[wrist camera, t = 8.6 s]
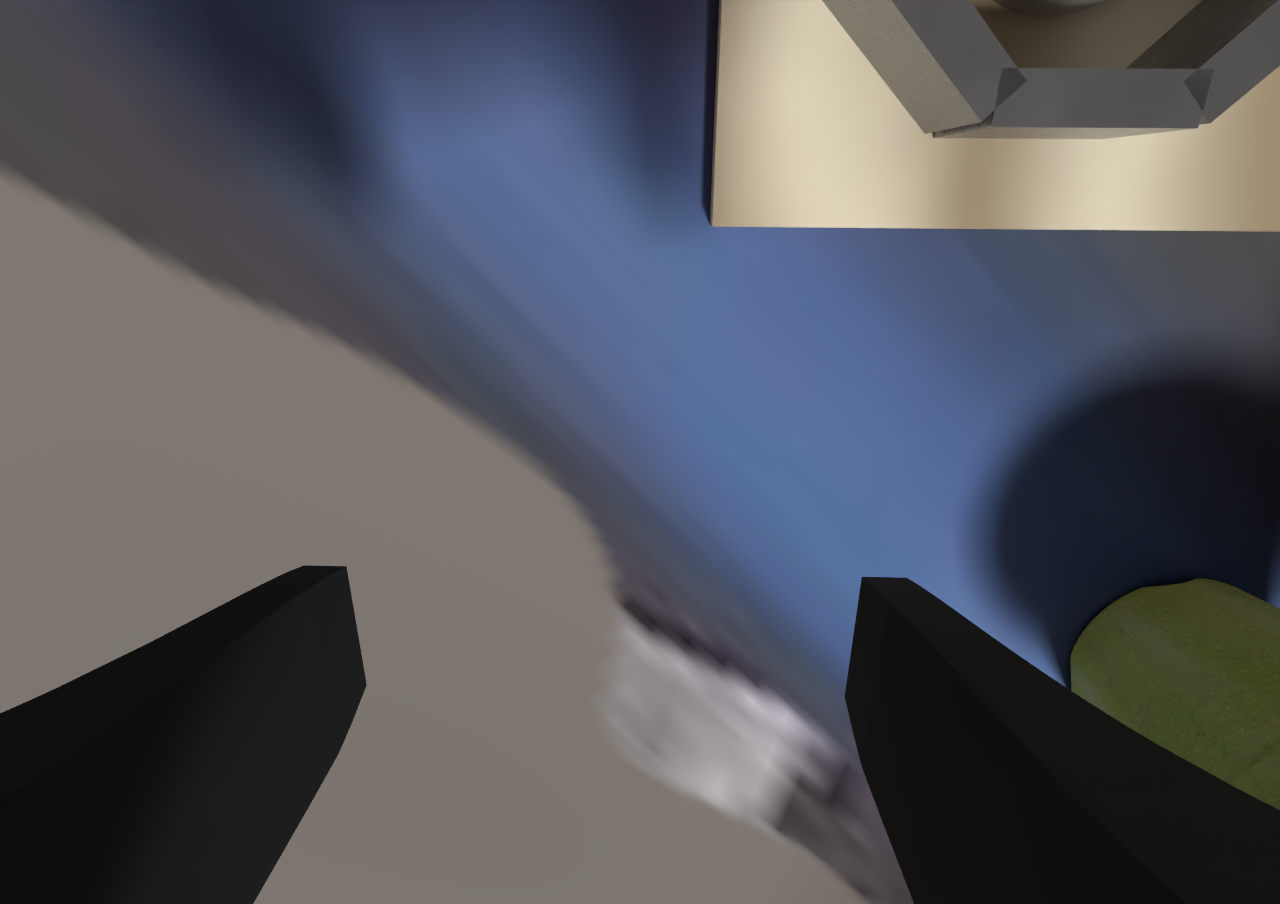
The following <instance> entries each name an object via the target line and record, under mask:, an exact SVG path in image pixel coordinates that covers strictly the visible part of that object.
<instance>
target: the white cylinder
mask: <svg viewBox="0 0 1280 904" xmlns="http://www.w3.org/2000/svg"><path fill="white" fill-rule="evenodd" d="M992 1H994V2H995V3H997V4H998V5H1000V6H1001V7H1004V8H1006V9H1008V10H1011V11H1013V12H1016V13H1019V14H1023V15H1027V16H1036V17H1054V16H1062V15H1067V14H1072V13H1076V12H1079V11H1081V10H1084V9H1087V8H1090V7H1092V6H1095V5H1097V4H1100V3H1102V2H1104V1H1107V0H992Z"/></svg>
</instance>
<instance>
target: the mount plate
mask: <svg viewBox="0 0 1280 904" xmlns="http://www.w3.org/2000/svg"><path fill="white" fill-rule="evenodd" d="M970 1H971V3H972V4H973V5H974V7H975V8H976V10H977V11H978V12H979V14H980V15H981V17H982V18H983V20H984V21H985V22H986V24H987V25H988V27H989V28H990V29H991V31H992V32H993V34H994V35H995V37H996V38H997V39H998V41H999V42H1000V44H1001V45H1002V46H1003V48H1004V49H1005V51H1006V52H1007V54H1008V55H1009V56H1010V58H1011V59H1012V61H1013V62H1014V63H1015V65H1016V66H1017V68H1122V69H1125V68H1127V67H1128V66H1129V65H1130V64H1131V63H1132V62H1133V61H1135V60H1136V59H1137V58H1138V57H1139V56H1140V55H1141V54H1142V53H1144V52H1145V51H1146V50H1147V49H1148V48H1149V47H1150V46H1151V45H1153V44H1154V43H1155V42H1156V41H1157V40H1158V39H1159V38H1161V37H1162V36H1163V35H1164V34H1165V33H1166V32H1167V31H1168V30H1170V29H1171V28H1172V27H1173V26H1174V25H1175V24H1176V23H1177V22H1179V21H1180V20H1181V19H1182V18H1183V17H1184V16H1185V15H1187V14H1188V13H1189V12H1190V11H1191V10H1192V9H1193V8H1194V7H1196V6H1197V5H1198V4H1199V3H1200V2H1201V1H1202V0H1107V1H1104V2H1102V3H1100V4H1097V5H1095V6H1092V7H1090V8H1087V9H1084V10H1081V11H1079V12H1076V13H1072V14H1067V15H1062V16H1054V17H1036V16H1027V15H1023V14H1019V13H1016V12H1013V11H1011V10H1008V9H1006V8H1004V7H1001V6H1000V5H998V4H997V3H995V2H994V1H992V0H970ZM933 134H934V132H932V133H927V134H924V132H923V131H922V130H921V129H920V127H919V126H918V125H917V123H916V122H915V121H914V119H913V118H912V117H911V116H910V114H909V113H908V112H907V110H906V109H905V108H904V106H903V105H902V104H901V103H900V101H899V100H898V99H897V97H896V96H895V95H894V93H893V92H892V91H891V90H890V88H889V87H888V86H887V84H886V83H885V82H884V80H883V79H882V78H881V77H880V75H879V74H878V73H877V71H876V70H875V69H874V67H873V66H872V65H871V64H870V62H869V61H868V60H867V58H866V57H865V56H864V54H863V53H862V52H861V51H860V49H859V48H858V47H857V45H856V44H855V43H854V41H853V40H852V39H851V38H850V36H849V35H848V34H847V32H846V31H845V30H844V28H843V27H842V26H841V25H840V23H839V22H838V21H837V19H836V18H835V17H834V15H833V14H832V13H831V12H830V10H829V9H828V8H827V6H826V5H825V4H824V2H823V1H822V0H719V19H718V43H717V67H716V91H715V115H714V139H713V163H712V187H711V210H710V225H711V226H714V227H828V228H943V229H1057V230H1171V231H1280V66H1279V67H1278V68H1276V69H1275V70H1274V71H1273V72H1272V73H1270V74H1269V75H1268V76H1267V77H1266V78H1264V79H1263V80H1262V81H1261V82H1260V83H1258V84H1257V85H1256V86H1255V87H1254V88H1252V89H1251V90H1250V91H1249V92H1248V93H1246V94H1245V95H1244V96H1243V97H1242V98H1240V99H1239V100H1238V101H1237V102H1235V103H1234V104H1233V105H1232V106H1231V107H1229V108H1228V109H1227V110H1226V111H1225V112H1223V113H1222V114H1221V115H1220V116H1219V117H1217V118H1216V119H1215V120H1214V121H1213V122H1211V123H1209V124H1200V125H1199V127H1198V128H1197V129H1188V130H1179V131H1170V132H1161V133H1152V134H1144V135H1135V136H1126V137H1117V138H1108V139H991V138H933Z"/></svg>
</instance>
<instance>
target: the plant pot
mask: <svg viewBox="0 0 1280 904" xmlns="http://www.w3.org/2000/svg"><path fill="white" fill-rule="evenodd" d="M1070 663H1071V691H1072V692H1073V693H1075V694H1077V695H1078V696H1080V697H1081V698H1083V699H1085V700H1086V701H1088V702H1089V703H1091V704H1092V705H1094V706H1096V707H1097V708H1099V709H1100V710H1102V711H1104V712H1105V713H1107V714H1108V715H1110V716H1111V717H1113V718H1115V719H1116V720H1118V721H1119V722H1121V723H1123V724H1124V725H1126V726H1128V727H1129V728H1131V729H1133V730H1134V731H1136V732H1138V733H1139V734H1141V735H1143V736H1144V737H1146V738H1148V739H1150V740H1151V741H1153V742H1155V743H1156V744H1158V745H1160V746H1161V747H1163V748H1165V749H1167V750H1169V751H1171V752H1172V753H1174V754H1176V755H1178V756H1180V757H1181V758H1183V759H1185V760H1187V761H1189V762H1190V763H1192V764H1194V765H1196V766H1198V767H1199V768H1201V769H1203V770H1205V771H1207V772H1208V773H1210V774H1212V775H1214V776H1216V777H1218V778H1219V779H1221V780H1223V781H1225V782H1227V783H1228V784H1230V785H1232V786H1234V787H1236V788H1238V789H1240V790H1241V791H1243V792H1245V793H1247V794H1249V795H1251V796H1253V797H1255V798H1257V799H1259V800H1261V801H1263V802H1265V803H1267V804H1269V805H1271V806H1273V807H1275V808H1276V809H1278V810H1280V609H1279V608H1277V607H1275V606H1273V605H1271V604H1269V603H1267V602H1265V601H1263V600H1261V599H1259V598H1257V597H1255V596H1253V595H1251V594H1249V593H1247V592H1245V591H1243V590H1241V589H1239V588H1236V587H1234V586H1232V585H1229V584H1226V583H1223V582H1220V581H1216V580H1210V579H1193V580H1191V581H1189V582H1185V583H1180V584H1172V585H1164V586H1154V587H1143V588H1140V589H1137V590H1135V591H1133V592H1131V593H1129V594H1126V595H1125V596H1123V597H1121V598H1120V599H1118V600H1116V601H1115V602H1113V603H1112V604H1111V605H1109V606H1108V607H1106V608H1105V609H1104V610H1102V611H1101V612H1100V613H1099V614H1098V615H1097V616H1096V617H1095V618H1094V619H1093V620H1092V621H1091V622H1090V623H1089V625H1088V626H1087V627H1086V628H1085V630H1084V631H1083V632H1082V634H1081V635H1080V637H1079V638H1078V640H1077V642H1076V644H1075V646H1074V648H1073V651H1072V653H1071V659H1070Z"/></svg>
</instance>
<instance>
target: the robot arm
mask: <svg viewBox="0 0 1280 904" xmlns="http://www.w3.org/2000/svg"><path fill="white" fill-rule="evenodd" d="M365 687H366V679H365V673H364V667H363V661H362V655H361V649H360V644H359V638H358V632H357V626H356V620H355V615H354V609H353V603H352V597H351V591H350V585H349V579H348V573H347V567H346V566H345V567H344V566H302V567H299V568H297V569H294V570H292V571H289V572H287V573H285V574H283V575H280V576H278V577H276V578H274V579H272V580H270V581H268V582H266V583H264V584H262V585H260V586H258V587H256V588H254V589H252V590H250V591H248V592H246V593H244V594H242V595H240V596H238V597H236V598H234V599H232V600H231V601H229V602H227V603H225V604H223V605H221V606H219V607H217V608H215V609H213V610H212V611H209V612H208V613H206V614H204V615H202V616H200V617H198V618H196V619H194V620H192V621H190V622H189V623H187V624H185V625H183V626H181V627H179V628H177V629H175V630H173V631H171V632H169V633H167V634H165V635H164V636H162V637H160V638H158V639H156V640H154V641H152V642H150V643H148V644H146V645H144V646H142V647H140V648H138V649H136V650H134V651H132V652H130V653H128V654H126V655H124V656H121V657H119V658H117V659H115V660H113V661H111V662H109V663H107V664H105V665H103V666H101V667H99V668H97V669H95V670H93V671H91V672H89V673H87V674H85V675H83V676H80V677H78V678H76V679H74V680H72V681H70V682H68V683H66V684H64V685H62V686H60V687H58V688H56V689H54V690H52V691H50V692H47V693H45V694H43V695H41V696H39V697H36V698H34V699H32V700H30V701H27V702H25V703H23V704H21V705H19V706H16V707H14V708H12V709H9V710H7V711H5V712H3V713H0V904H253V903H254V901H255V900H256V898H257V896H258V894H259V893H260V891H261V889H262V887H263V885H264V884H265V882H266V880H267V879H268V877H269V875H270V873H271V872H272V870H273V868H274V866H275V865H276V863H277V861H278V859H279V858H280V856H281V854H282V852H283V851H284V849H285V847H286V846H287V844H288V842H289V840H290V839H291V837H292V835H293V833H294V832H295V830H296V828H297V826H298V825H299V823H300V821H301V819H302V817H303V816H304V814H305V812H306V811H307V809H308V807H309V805H310V803H311V802H312V800H313V798H314V797H315V795H316V793H317V791H318V789H319V788H320V786H321V784H322V782H323V781H324V779H325V777H326V775H327V773H328V772H329V770H330V768H331V766H332V764H333V763H334V761H335V759H336V757H337V755H338V753H339V751H340V749H341V747H342V744H343V742H344V740H345V737H346V735H347V733H348V730H349V728H350V726H351V723H352V721H353V718H354V716H355V713H356V711H357V708H358V706H359V703H360V700H361V698H362V695H363V693H364V690H365ZM845 700H846V704H847V708H848V713H849V717H850V721H851V726H852V730H853V734H854V738H855V742H856V746H857V750H858V754H859V758H860V761H861V765H862V768H863V771H864V774H865V776H866V779H867V782H868V784H869V787H870V790H871V792H872V795H873V798H874V800H875V803H876V806H877V808H878V811H879V814H880V816H881V819H882V822H883V824H884V827H885V829H886V832H887V835H888V837H889V840H890V842H891V845H892V848H893V850H894V853H895V855H896V858H897V861H898V863H899V866H900V868H901V871H902V874H903V876H904V879H905V881H906V884H907V886H908V889H909V892H910V894H911V897H912V899H913V902H914V904H1280V810H1278V809H1276V808H1275V807H1273V806H1271V805H1269V804H1267V803H1265V802H1263V801H1261V800H1259V799H1257V798H1255V797H1253V796H1251V795H1249V794H1247V793H1245V792H1243V791H1241V790H1240V789H1238V788H1236V787H1234V786H1232V785H1230V784H1228V783H1227V782H1225V781H1223V780H1221V779H1219V778H1218V777H1216V776H1214V775H1212V774H1210V773H1208V772H1207V771H1205V770H1203V769H1201V768H1199V767H1198V766H1196V765H1194V764H1192V763H1190V762H1189V761H1187V760H1185V759H1183V758H1181V757H1180V756H1178V755H1176V754H1174V753H1172V752H1171V751H1169V750H1167V749H1165V748H1163V747H1161V746H1160V745H1158V744H1156V743H1155V742H1153V741H1151V740H1150V739H1148V738H1146V737H1144V736H1143V735H1141V734H1139V733H1138V732H1136V731H1134V730H1133V729H1131V728H1129V727H1128V726H1126V725H1124V724H1123V723H1121V722H1119V721H1118V720H1116V719H1115V718H1113V717H1111V716H1110V715H1108V714H1107V713H1105V712H1104V711H1102V710H1100V709H1099V708H1097V707H1096V706H1094V705H1092V704H1091V703H1089V702H1088V701H1086V700H1085V699H1083V698H1081V697H1080V696H1078V695H1077V694H1075V693H1073V692H1072V691H1070V690H1069V689H1067V688H1066V687H1064V686H1063V685H1061V684H1060V683H1058V682H1057V681H1055V680H1054V679H1052V678H1051V677H1049V676H1048V675H1046V674H1045V673H1043V672H1042V671H1040V670H1039V669H1037V668H1036V667H1034V666H1033V665H1031V664H1030V663H1029V662H1027V661H1026V660H1024V659H1023V658H1021V657H1020V656H1018V655H1017V654H1016V653H1014V652H1013V651H1011V650H1010V649H1008V648H1007V647H1006V646H1004V645H1003V644H1001V643H1000V642H998V641H997V640H996V639H994V638H993V637H991V636H990V635H989V634H987V633H986V632H984V631H983V630H982V629H980V628H979V627H977V626H976V625H975V624H973V623H972V622H970V621H969V620H968V619H966V618H965V617H964V616H962V615H961V614H959V613H958V612H957V611H955V610H954V609H952V608H951V607H950V606H948V605H947V604H945V603H944V602H942V601H941V600H940V599H938V598H937V597H935V596H934V595H933V594H931V593H930V592H928V591H927V590H925V589H924V588H922V587H921V586H919V585H918V584H916V583H914V582H913V581H911V580H909V579H908V578H888V577H862V580H861V587H860V594H859V601H858V608H857V615H856V622H855V629H854V636H853V643H852V650H851V657H850V664H849V671H848V677H847V684H846V691H845Z"/></svg>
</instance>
